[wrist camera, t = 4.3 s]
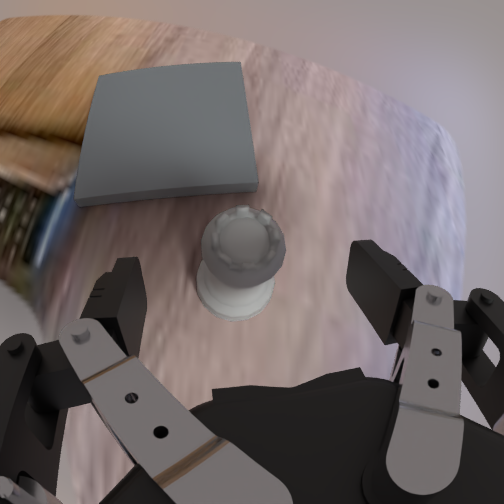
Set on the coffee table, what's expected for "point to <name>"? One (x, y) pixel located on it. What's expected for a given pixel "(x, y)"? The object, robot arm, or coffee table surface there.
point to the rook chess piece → (239, 262)
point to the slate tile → (167, 135)
